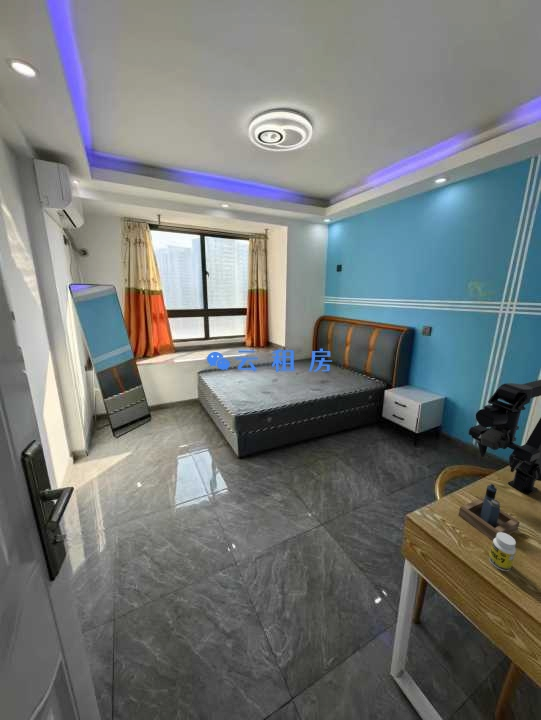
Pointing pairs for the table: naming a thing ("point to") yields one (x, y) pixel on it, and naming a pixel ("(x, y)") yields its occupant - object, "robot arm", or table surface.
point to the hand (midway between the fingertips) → (496, 463)
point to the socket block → (473, 517)
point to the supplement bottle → (502, 551)
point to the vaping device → (490, 506)
